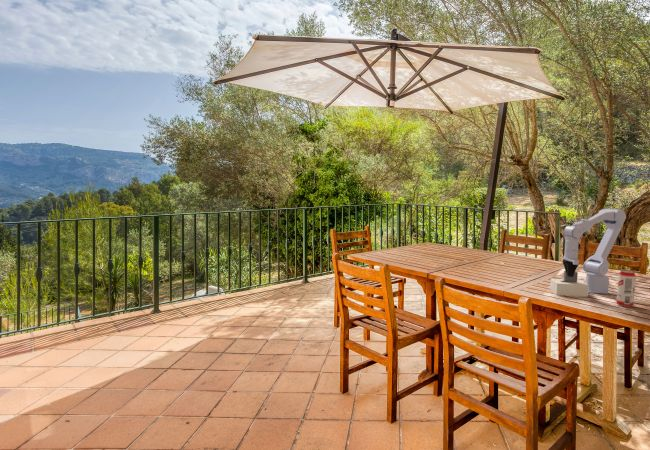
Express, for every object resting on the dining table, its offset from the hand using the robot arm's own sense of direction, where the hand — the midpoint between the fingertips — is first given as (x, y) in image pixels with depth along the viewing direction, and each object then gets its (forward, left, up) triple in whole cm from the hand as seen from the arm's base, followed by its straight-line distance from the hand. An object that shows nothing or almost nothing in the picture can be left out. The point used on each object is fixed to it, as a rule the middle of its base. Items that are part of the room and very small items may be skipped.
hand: (569, 276), depth 198 cm
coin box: (0, 0, -9) cm, 9 cm away
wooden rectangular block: (0, 0, -3) cm, 3 cm away
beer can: (-18, +16, -9) cm, 26 cm away
